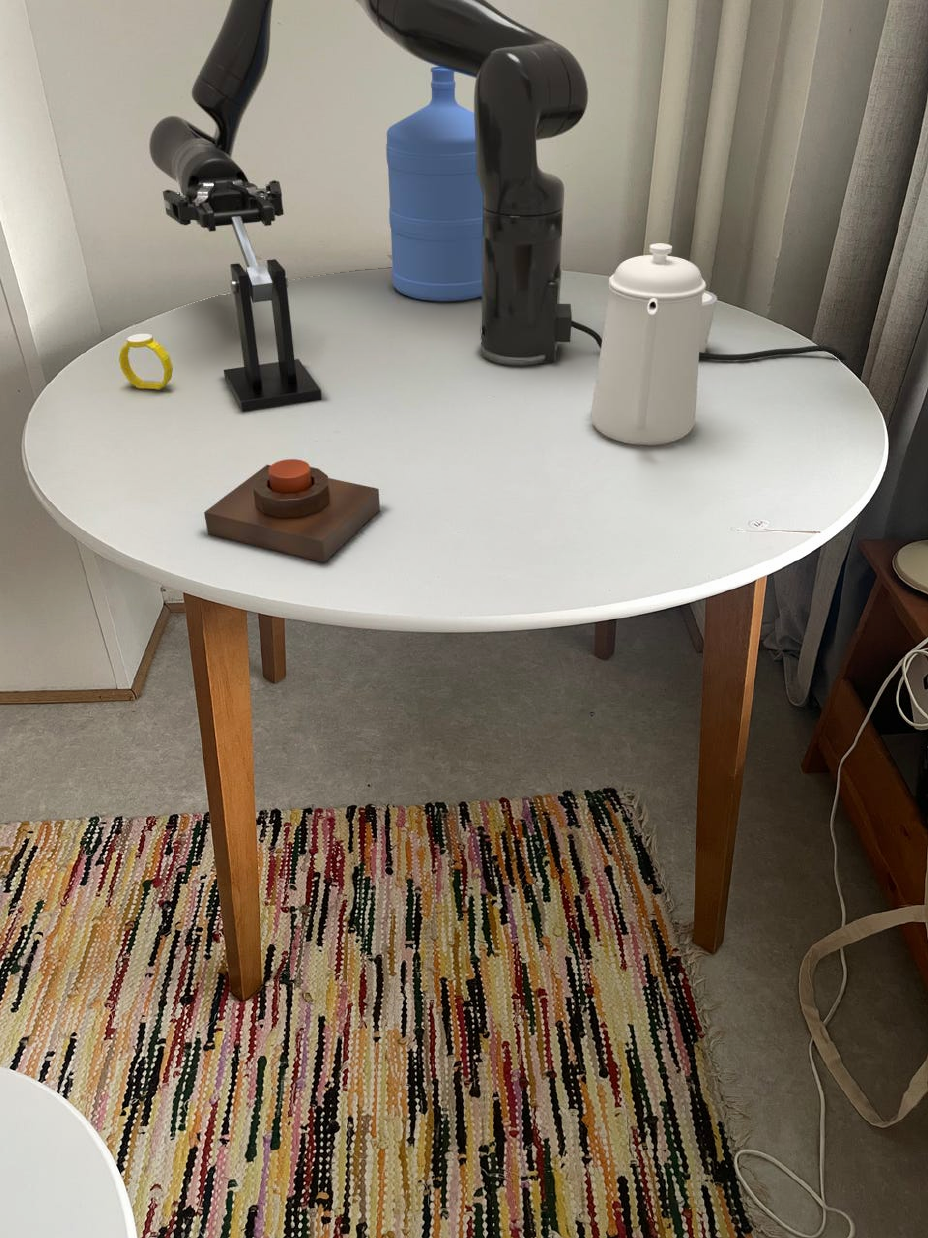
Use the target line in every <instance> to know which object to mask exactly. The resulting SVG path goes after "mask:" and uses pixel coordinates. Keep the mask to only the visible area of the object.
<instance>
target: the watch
mask: <svg viewBox="0 0 928 1238" xmlns="http://www.w3.org/2000/svg"><path fill="white" fill-rule="evenodd" d="M126 342H127V343H125V344H124V345H123V346H122V347H121V348H120V353H119V357H118V358H119V359H118V360H119V365H120V369H121V372H122V373H123V375H124V376H125V378H126V380H128V382H129V383H130V384H132V385H133V386H134V387H136V389H141V390H142V389H143V390H145V389H146V390H157V391H160V390H162V389H163V388H164V387H166V386H167V385H168V384H169V382H170V381H171V380H172V378H173V370H174V366H173V363H172V360H171V356H170V355H169V353H168V352H167V351H166V350H165V348H164V347H163V345H161V344H160V343H159V342H157V341H155V340H154V337H153V335H152V334H150V333H137V334H132V335H130V336H128V337H127V338H126ZM144 347H146V348H148V349H149V350H151V351H153V352H154V353H155V355H156V356H157V357H158V359H159V360H160V362H161V365H162V367H163V370H164V372H163V379H162V382H148V381H144V380H142V378H140V377H139V376H137V374H136V373H135V371H134V369H133V368H132V367H131V364H130V360H129V352H130V349H131V348H144Z"/></svg>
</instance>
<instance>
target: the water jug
mask: <svg viewBox="0 0 928 1238" xmlns="http://www.w3.org/2000/svg"><path fill="white" fill-rule="evenodd" d="M430 72H431V82H430V87H431V99H430V101H429V103H428V104H427V105H426V106H424V107H422V108H420V109H419V110H417V111H415V112H413V113H411V114H410V115H408V116H406V117H404V118H403V119H401V120H399V121H397V122H396V123H394V124H392V125H391V126H389V127H388V129H387V131H386V144H385V145H386V147H385V151H386V153H385V154H386V164H387V171H388V172H387V173H388V174H387V175H388V195H389V209H388V217H389V218H388V219H389V221H388V222H389V227H390V238H391V239H390V240H391V242H390V243H391V261H392V262H391V263H392V266H391V267H392V268H391V282H392V285H393V287H394V288H395V289H396V290H397V291H398V292H399V293H401V294H403V295H405V296H406V297H409V298H413V299H417V300H421V301H422V300H423V301H429V302H459V301H468V300H474V299H477V298H482V215H483V195H482V190H481V186H480V183H479V180H478V176H477V168H476V146H475V124H474V111H471V110H470V109H468V108H466V107H464V106H462V105H460V104H458V103H459V102H457V100H456V81H455V72H454V71H451V70H448V69H444V68H441V67H438V66H433V67H431V68H430Z"/></svg>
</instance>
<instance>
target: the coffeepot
mask: <svg viewBox="0 0 928 1238" xmlns="http://www.w3.org/2000/svg"><path fill="white" fill-rule="evenodd" d="M672 250H673V246H672V245H671V244H668V243H662V242H660V243H659V242H657V243H652V244H650V245H649V253H651V254H646V255H638V256H634V257H631V258H628V259H626V260H624V261H622V262H620V264H619V265H618V266H617V268H616V269H615V271H614V273H613V274H612V275H610V277H609V279H608V289H609V295H608V301H607V307H606V314H605V321H604V327H603V333H602V345H601V349H600V353H599V359H598V366H597V372H596V377H595V386H594V390H593V398H592V403H591V411H590V419H591V423H592V424H593V426H594V427H595V428H596V430H597V431H599V432H600V433H601V434H602V435H603V436H605V437H607V438H610V439H612V440H614V441H617V442H621V443H625V444H630V445H637V446H659V445H665V444H670V443H673V442H676V441H678V440H680V439H683V438H684V437H686V436H687V435H688V434H689V433H690V432H691V431H692V430H693V428H694V426H695V423H696V412H697V411H696V410H697V397H698V396H697V393H698V377H699V363H700V362H699V361H700V358H699V345H700V329H701V312H702V295H703V294H704V292H705V291H706V288H707V284H706V281H705V280H704V279H703V278H702V274H701V271H700V269H699V267H698V266H697V265H695V264H694V263H693V262H691V261H690V260H687V259H684V258H682V257H677V256H671V255H670V254H671V253H672Z"/></svg>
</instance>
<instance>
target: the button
mask: <svg viewBox="0 0 928 1238" xmlns="http://www.w3.org/2000/svg"><path fill="white" fill-rule="evenodd" d="M270 465H271V466H270V467H269V479H270V486H271V490H272V491H273V492H277V493H281V494H293V493H299V492H302V491H305V490H308V489H309V488H310V487H311V486H312V481H311V472H310V467H311V466H310V464H309V463H308V462H306V461H305V460H302V459H296V458H289V459H282V460H278V461H276V462H274V463H272V464H270Z"/></svg>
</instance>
